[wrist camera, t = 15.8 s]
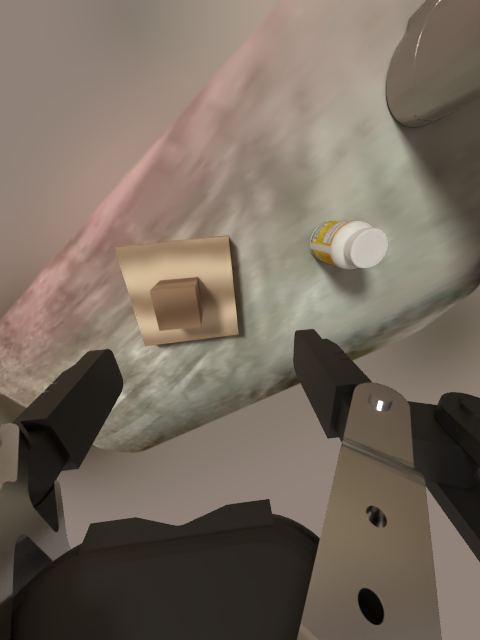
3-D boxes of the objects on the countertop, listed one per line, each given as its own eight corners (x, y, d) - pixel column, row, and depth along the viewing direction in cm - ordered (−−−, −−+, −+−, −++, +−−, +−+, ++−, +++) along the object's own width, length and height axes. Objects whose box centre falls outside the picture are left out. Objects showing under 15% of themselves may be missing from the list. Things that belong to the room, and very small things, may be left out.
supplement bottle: (308, 224, 30) (345, 224, 21) (345, 218, 30) (398, 215, 22) (309, 263, 32) (343, 278, 24) (344, 257, 33) (391, 270, 24)
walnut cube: (160, 280, 29) (149, 291, 24) (198, 276, 29) (194, 286, 25) (167, 315, 31) (159, 330, 26) (203, 311, 31) (201, 326, 27)
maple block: (124, 245, 29) (114, 247, 27) (227, 235, 30) (228, 236, 27) (150, 336, 35) (145, 346, 32) (236, 326, 36) (238, 334, 33)
